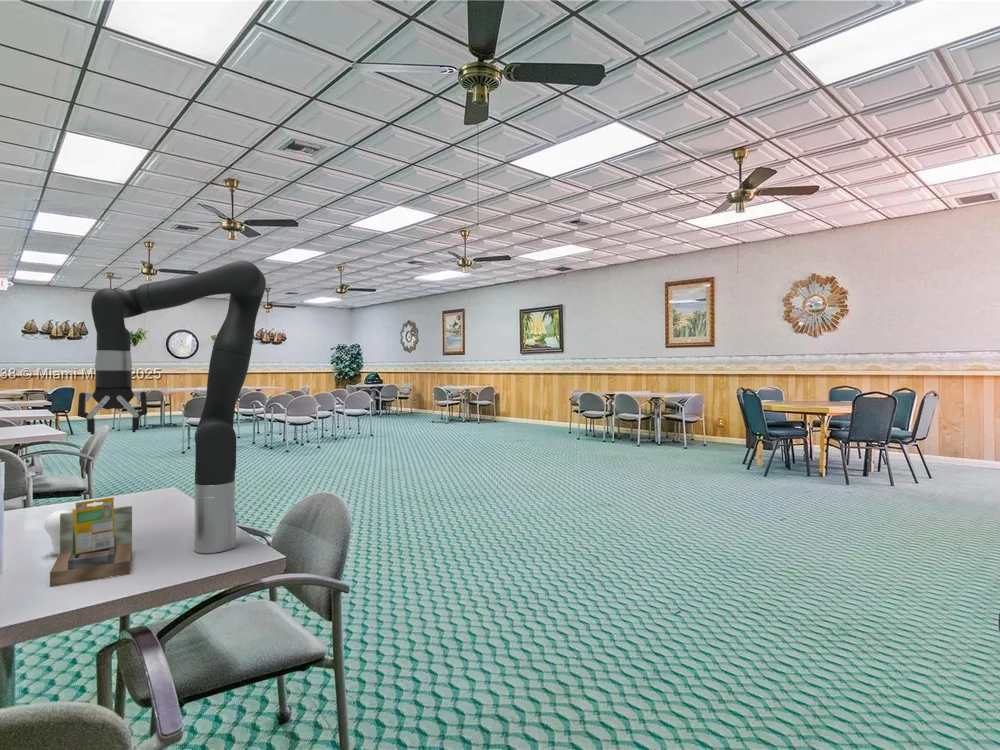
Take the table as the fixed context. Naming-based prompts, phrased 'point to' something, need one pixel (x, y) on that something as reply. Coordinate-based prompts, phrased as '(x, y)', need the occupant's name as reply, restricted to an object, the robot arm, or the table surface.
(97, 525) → the crayon box
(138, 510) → the table surface
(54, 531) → the lightbulb
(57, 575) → the display stand
